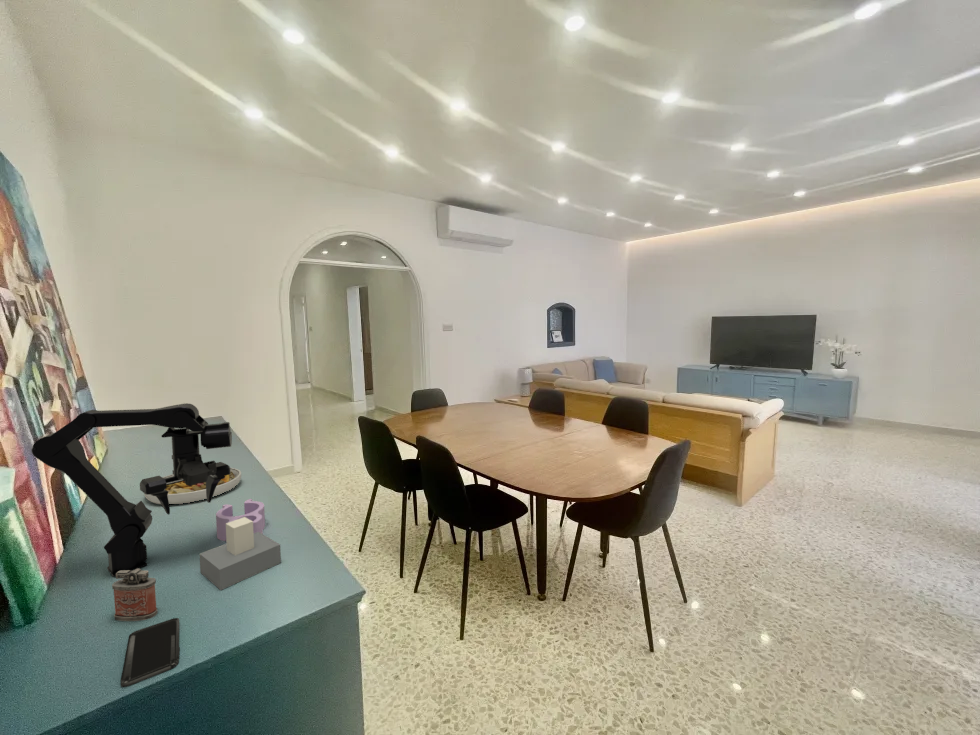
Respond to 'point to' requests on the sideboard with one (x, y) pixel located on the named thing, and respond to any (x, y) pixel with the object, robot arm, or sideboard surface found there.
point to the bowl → (196, 489)
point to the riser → (239, 561)
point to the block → (239, 535)
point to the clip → (252, 512)
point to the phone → (151, 652)
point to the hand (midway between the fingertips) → (189, 507)
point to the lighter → (134, 596)
